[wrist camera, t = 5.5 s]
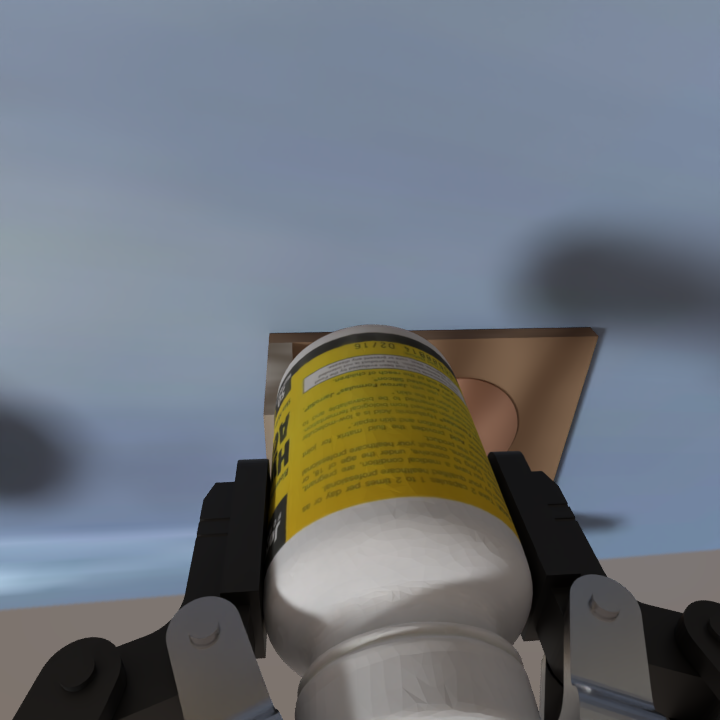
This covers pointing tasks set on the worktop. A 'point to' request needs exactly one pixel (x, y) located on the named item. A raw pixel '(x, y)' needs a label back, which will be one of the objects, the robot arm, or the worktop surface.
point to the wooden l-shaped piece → (489, 384)
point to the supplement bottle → (390, 540)
